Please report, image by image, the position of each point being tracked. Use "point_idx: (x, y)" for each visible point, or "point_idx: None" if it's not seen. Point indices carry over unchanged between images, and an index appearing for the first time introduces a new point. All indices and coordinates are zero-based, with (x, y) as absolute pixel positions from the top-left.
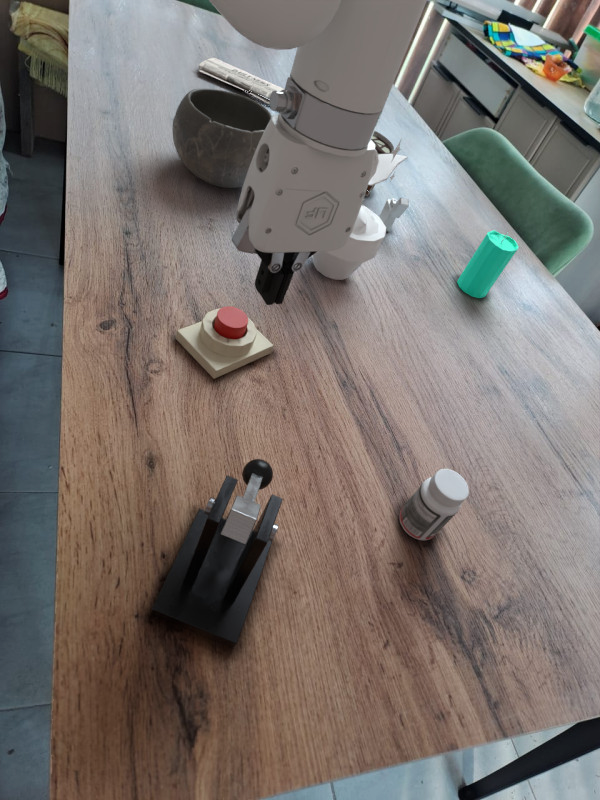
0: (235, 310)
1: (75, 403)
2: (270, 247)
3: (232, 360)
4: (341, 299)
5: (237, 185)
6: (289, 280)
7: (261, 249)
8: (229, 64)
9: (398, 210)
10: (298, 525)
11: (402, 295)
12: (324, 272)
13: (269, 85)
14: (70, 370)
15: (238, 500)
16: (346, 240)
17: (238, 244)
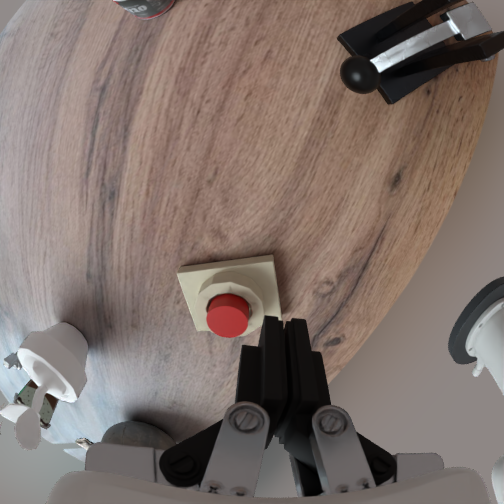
0: (217, 329)
1: (410, 269)
2: (457, 488)
3: (243, 269)
4: (72, 303)
5: (138, 425)
6: (269, 376)
7: (473, 471)
8: None
9: (11, 359)
10: (292, 38)
11: (20, 284)
12: (80, 336)
13: None
14: (392, 303)
15: (472, 32)
16: (61, 502)
17: (443, 466)
